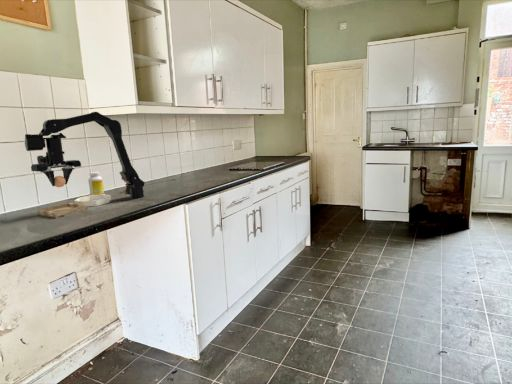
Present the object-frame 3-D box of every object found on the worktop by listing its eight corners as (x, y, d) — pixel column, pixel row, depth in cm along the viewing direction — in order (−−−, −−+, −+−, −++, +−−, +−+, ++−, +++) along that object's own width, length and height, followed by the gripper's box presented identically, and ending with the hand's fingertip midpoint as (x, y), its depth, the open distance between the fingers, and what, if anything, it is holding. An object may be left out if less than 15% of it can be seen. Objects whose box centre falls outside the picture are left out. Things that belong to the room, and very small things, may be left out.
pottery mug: (120, 194, 192) (122, 180, 195) (135, 198, 199) (137, 185, 202) (132, 190, 185) (134, 175, 187) (147, 195, 192) (150, 181, 194)
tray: (87, 210, 157) (86, 205, 156) (55, 218, 145) (54, 213, 145) (69, 207, 164) (69, 202, 164) (38, 214, 153) (37, 209, 153)
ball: (68, 186, 154) (67, 175, 153) (57, 188, 150) (55, 177, 149) (62, 185, 157) (61, 174, 156) (51, 187, 153) (49, 176, 152)
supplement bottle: (107, 195, 188) (103, 171, 185) (96, 198, 182) (92, 173, 180) (99, 194, 191) (95, 171, 189) (88, 197, 186) (84, 173, 183)
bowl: (116, 201, 171) (116, 195, 171) (88, 209, 159) (87, 202, 158) (98, 199, 179) (97, 193, 179) (69, 206, 167) (68, 199, 166)
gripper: (66, 147, 162) (70, 180, 165) (22, 150, 147) (27, 187, 150) (79, 147, 156) (84, 182, 159) (35, 151, 141) (40, 189, 144)
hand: (59, 185), depth 153 cm, fingers closed on ball, 5 cm apart
